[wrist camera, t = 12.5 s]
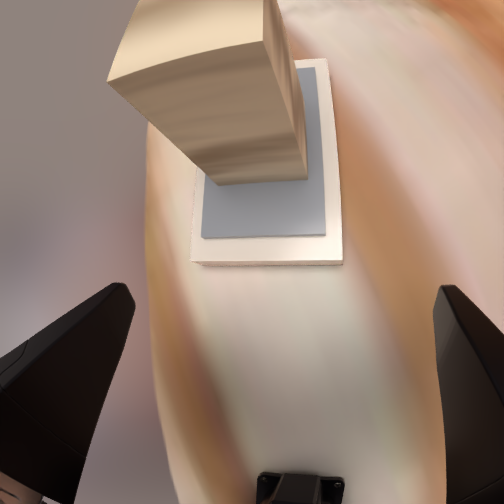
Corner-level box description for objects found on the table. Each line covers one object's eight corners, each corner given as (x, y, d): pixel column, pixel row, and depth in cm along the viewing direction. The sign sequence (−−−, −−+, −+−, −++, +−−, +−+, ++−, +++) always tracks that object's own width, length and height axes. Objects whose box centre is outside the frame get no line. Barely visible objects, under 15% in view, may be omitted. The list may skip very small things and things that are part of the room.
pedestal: (342, 264, 21) (342, 258, 18) (204, 265, 24) (185, 260, 21) (328, 76, 24) (325, 53, 21) (217, 89, 26) (205, 69, 24)
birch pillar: (308, 179, 20) (262, 40, 8) (218, 185, 21) (106, 82, 10) (304, 103, 21) (263, -39, 9) (223, 112, 22) (141, -5, 11)
